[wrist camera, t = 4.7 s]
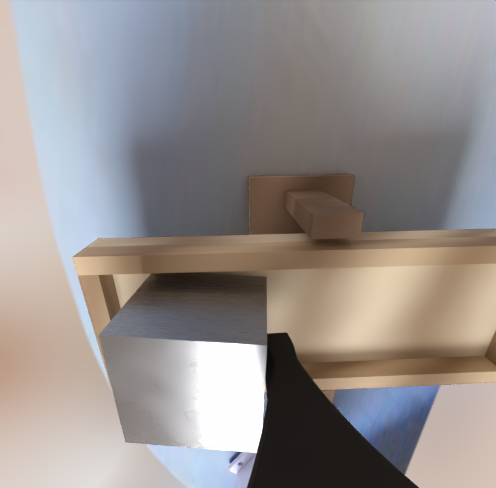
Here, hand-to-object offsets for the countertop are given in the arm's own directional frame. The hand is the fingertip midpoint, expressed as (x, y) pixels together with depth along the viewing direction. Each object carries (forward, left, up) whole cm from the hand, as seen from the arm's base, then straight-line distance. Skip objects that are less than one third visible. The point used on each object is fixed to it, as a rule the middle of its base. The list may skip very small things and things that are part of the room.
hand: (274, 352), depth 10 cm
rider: (-2, +2, -2) cm, 3 cm away
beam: (+1, -2, -3) cm, 4 cm away
